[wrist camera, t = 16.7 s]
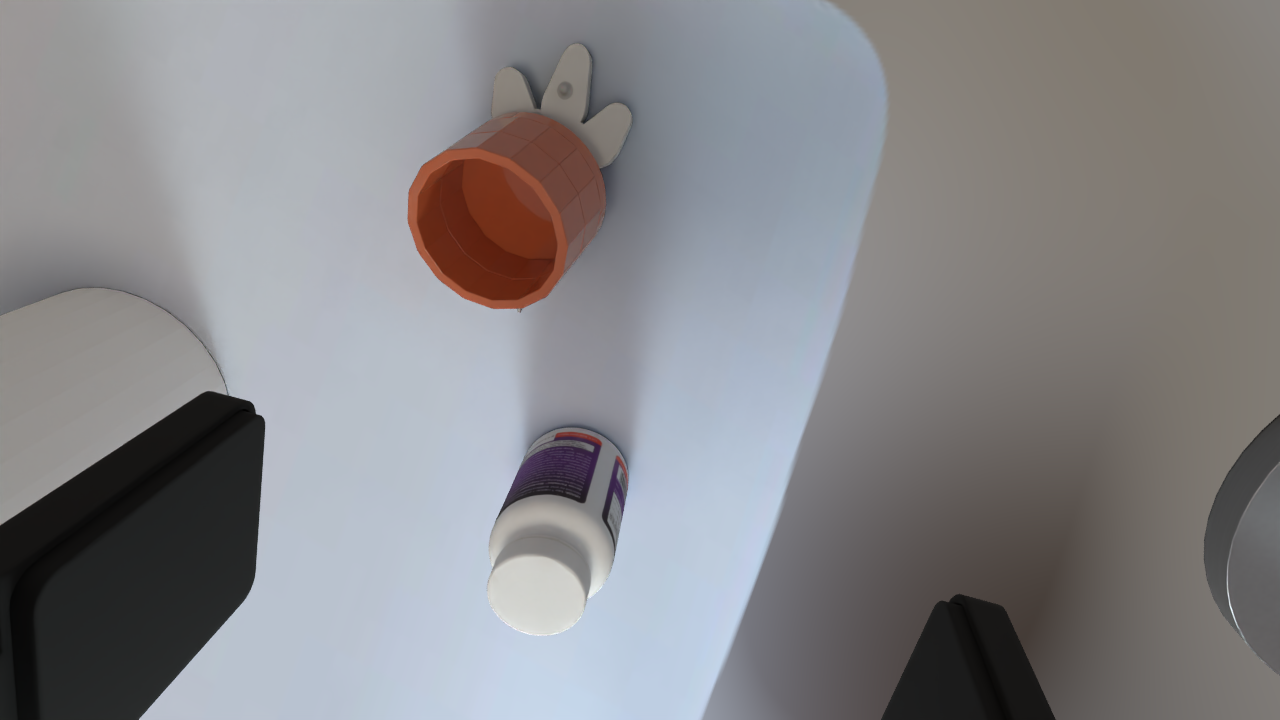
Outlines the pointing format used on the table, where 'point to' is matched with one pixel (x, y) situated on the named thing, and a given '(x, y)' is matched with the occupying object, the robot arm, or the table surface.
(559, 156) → the small cup
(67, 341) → the bottle
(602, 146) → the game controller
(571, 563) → the pill bottle
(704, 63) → the table surface
